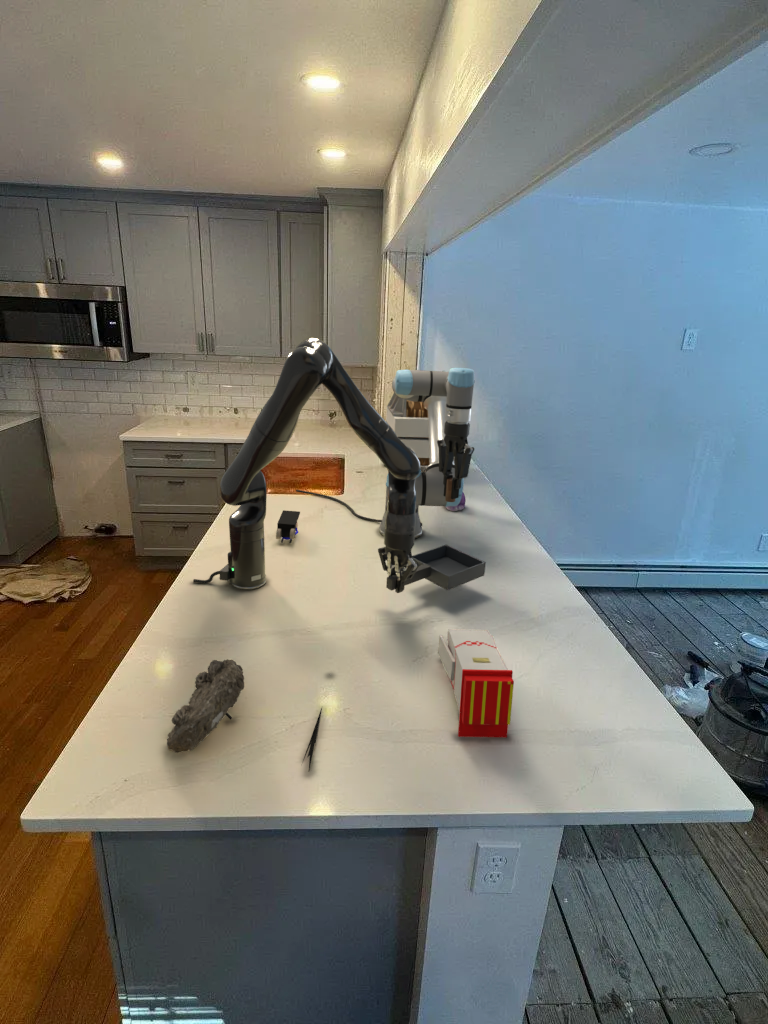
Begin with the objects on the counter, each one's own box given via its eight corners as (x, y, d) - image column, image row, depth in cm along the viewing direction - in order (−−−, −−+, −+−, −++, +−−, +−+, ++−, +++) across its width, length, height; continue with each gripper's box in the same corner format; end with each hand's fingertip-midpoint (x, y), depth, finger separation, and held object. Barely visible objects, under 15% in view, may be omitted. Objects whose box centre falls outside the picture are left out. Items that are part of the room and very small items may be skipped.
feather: (331, 679, 122) (336, 673, 122) (307, 777, 96) (313, 769, 95) (324, 675, 122) (329, 669, 121) (298, 772, 95) (304, 764, 95)
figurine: (452, 513, 222) (455, 476, 217) (438, 505, 231) (441, 469, 226) (471, 510, 227) (475, 474, 221) (457, 502, 235) (460, 467, 230)
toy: (488, 613, 130) (523, 677, 101) (484, 667, 133) (517, 744, 104) (435, 612, 130) (455, 676, 101) (432, 666, 133) (451, 743, 103)
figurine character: (295, 549, 186) (301, 528, 200) (295, 529, 183) (300, 509, 196) (275, 549, 186) (282, 527, 199) (274, 528, 183) (281, 508, 196)
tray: (408, 606, 140) (409, 590, 138) (369, 583, 150) (370, 568, 149) (484, 575, 158) (486, 561, 156) (445, 556, 168) (446, 543, 167)
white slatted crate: (382, 463, 289) (386, 382, 275) (445, 464, 293) (451, 384, 279) (390, 482, 257) (394, 392, 243) (460, 483, 261) (468, 394, 247)
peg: (442, 500, 177) (444, 478, 174) (449, 498, 179) (451, 477, 176) (450, 502, 175) (452, 481, 172) (457, 501, 177) (459, 479, 174)
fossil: (192, 660, 117) (244, 628, 112) (224, 691, 120) (276, 661, 115) (142, 746, 98) (202, 712, 93) (182, 779, 101) (242, 748, 96)
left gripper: (370, 522, 143) (367, 583, 149) (408, 540, 133) (403, 605, 139) (392, 516, 147) (389, 576, 153) (430, 533, 138) (425, 596, 144)
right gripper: (430, 418, 171) (424, 492, 179) (468, 427, 161) (461, 505, 169) (447, 416, 176) (441, 488, 184) (485, 425, 165) (477, 501, 173)
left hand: (395, 589), depth 146 cm, fingers closed on tray, 2 cm apart
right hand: (450, 496), depth 176 cm, fingers closed on peg, 2 cm apart
